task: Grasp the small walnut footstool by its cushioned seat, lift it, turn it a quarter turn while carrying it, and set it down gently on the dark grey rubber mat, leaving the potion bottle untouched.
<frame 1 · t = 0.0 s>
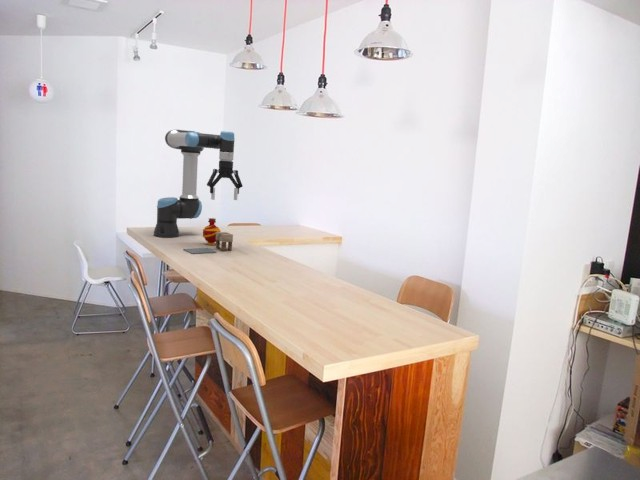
hand: (224, 199, 265), 28 cm above the table, fingers open, 13 cm apart
footstool: (223, 249, 272), on the table
potion bottle: (211, 244, 284), on the table
mat: (199, 251, 261), on the table
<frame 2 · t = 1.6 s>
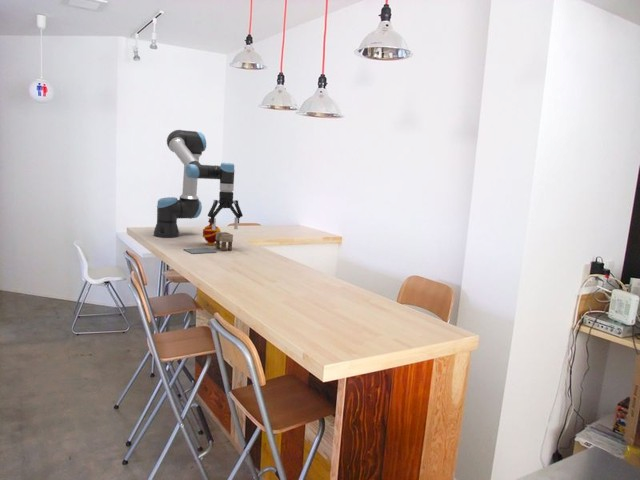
hand: (224, 229, 270), 11 cm above the table, fingers open, 13 cm apart
nothing on the table moved.
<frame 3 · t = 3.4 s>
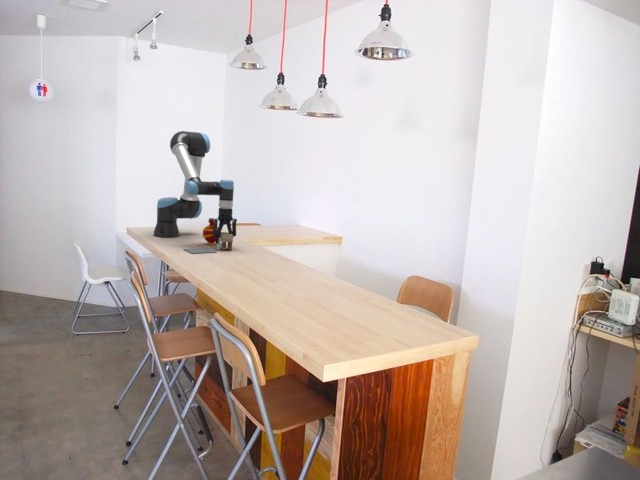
hand: (223, 248, 272), 0 cm above the table, fingers closed on footstool, 6 cm apart
footstool: (223, 249, 272), on the table, touching gripper
everything else where it was.
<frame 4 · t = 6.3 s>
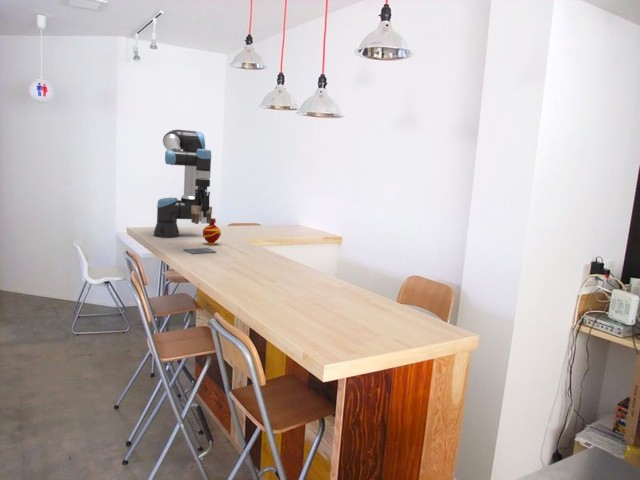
hand: (201, 222, 259), 16 cm above the table, fingers closed on footstool, 6 cm apart
footstool: (201, 222, 259), point 15 cm above the table, touching gripper
everything else where it was.
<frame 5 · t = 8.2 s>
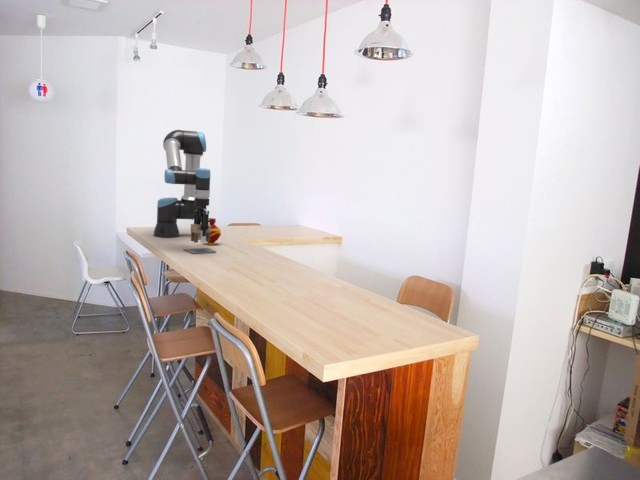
hand: (200, 240, 260), 6 cm above the table, fingers closed on footstool, 6 cm apart
footstool: (200, 241, 260), point 5 cm above the table, touching gripper
everything else where it was.
when the fingers open (2 cm above the table, at t = 9.6 s): footstool drops 1 cm, resting on mat.
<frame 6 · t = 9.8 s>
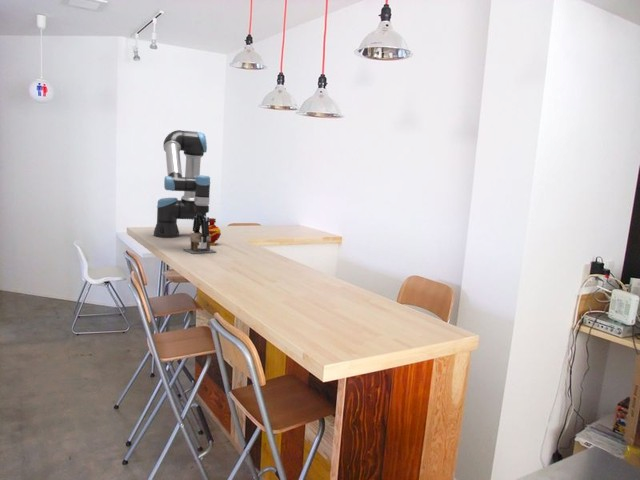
hand: (200, 246, 261), 3 cm above the table, fingers open, 8 cm apart
footstool: (200, 250, 261), point 1 cm above the table, touching mat
everything else where it was.
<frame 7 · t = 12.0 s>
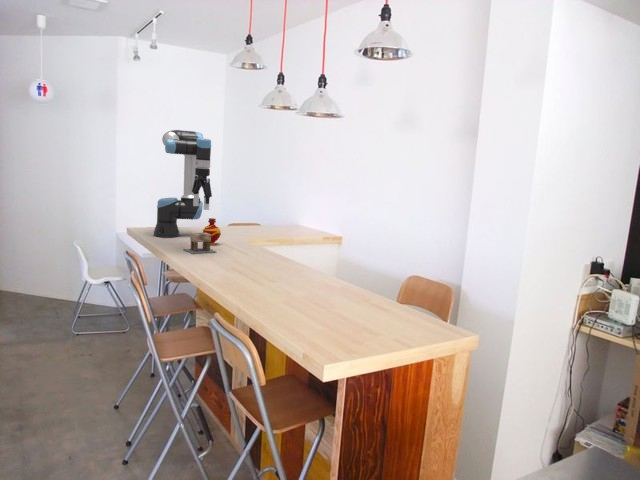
hand: (200, 207, 261), 23 cm above the table, fingers open, 13 cm apart
nothing on the table moved.
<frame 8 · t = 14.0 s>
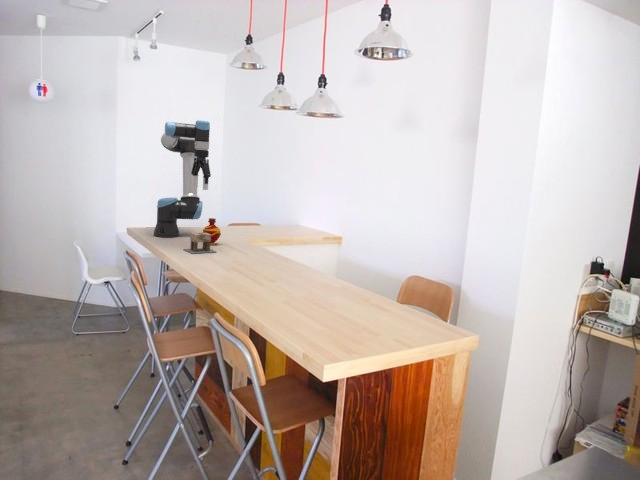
hand: (200, 188, 268), 33 cm above the table, fingers open, 13 cm apart
nothing on the table moved.
at the end: footstool inside the target area on the mat (0.1 cm from its centre), point 0.6 cm above the mat's base; footstool tilted 0°; the gripper is holding nothing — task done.
